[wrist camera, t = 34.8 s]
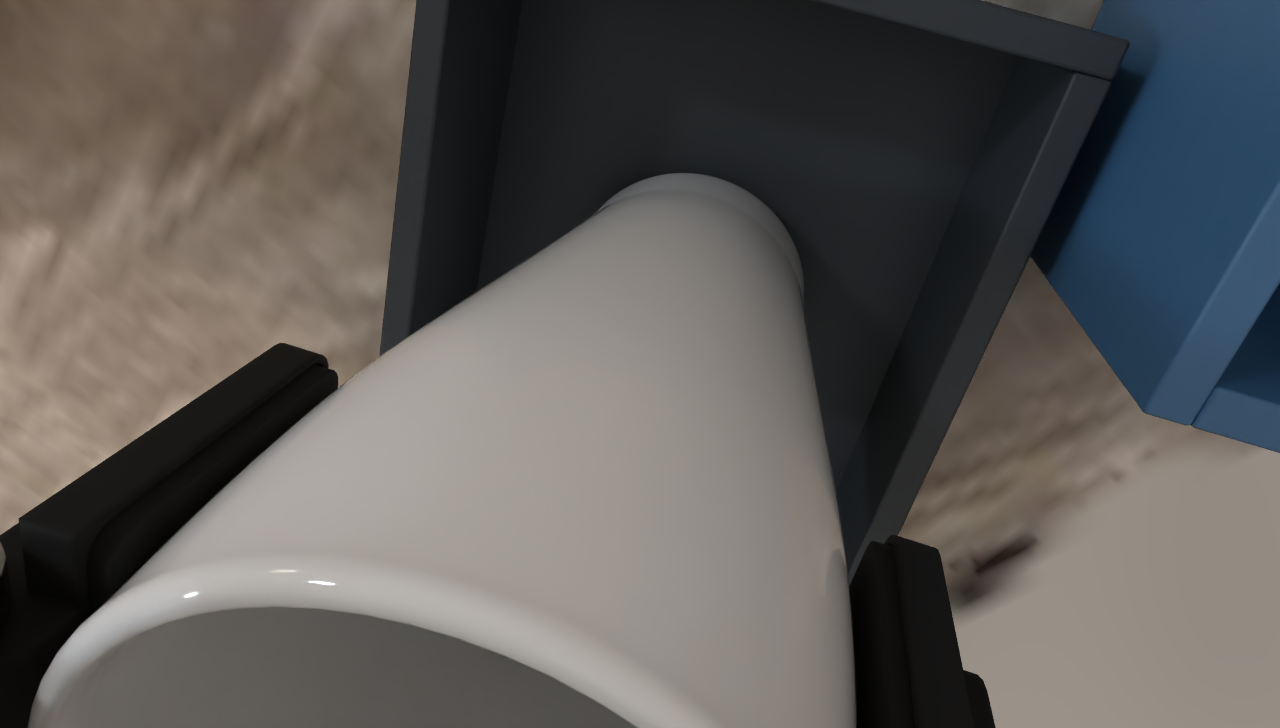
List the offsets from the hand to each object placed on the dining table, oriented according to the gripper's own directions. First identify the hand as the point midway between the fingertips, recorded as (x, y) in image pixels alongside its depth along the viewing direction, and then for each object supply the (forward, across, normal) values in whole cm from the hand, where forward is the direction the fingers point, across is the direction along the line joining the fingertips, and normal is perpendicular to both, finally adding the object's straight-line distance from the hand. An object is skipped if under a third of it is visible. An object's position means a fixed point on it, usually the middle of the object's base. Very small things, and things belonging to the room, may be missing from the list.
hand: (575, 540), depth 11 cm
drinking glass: (+10, 0, 0) cm, 10 cm away
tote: (+11, 0, 0) cm, 11 cm away
